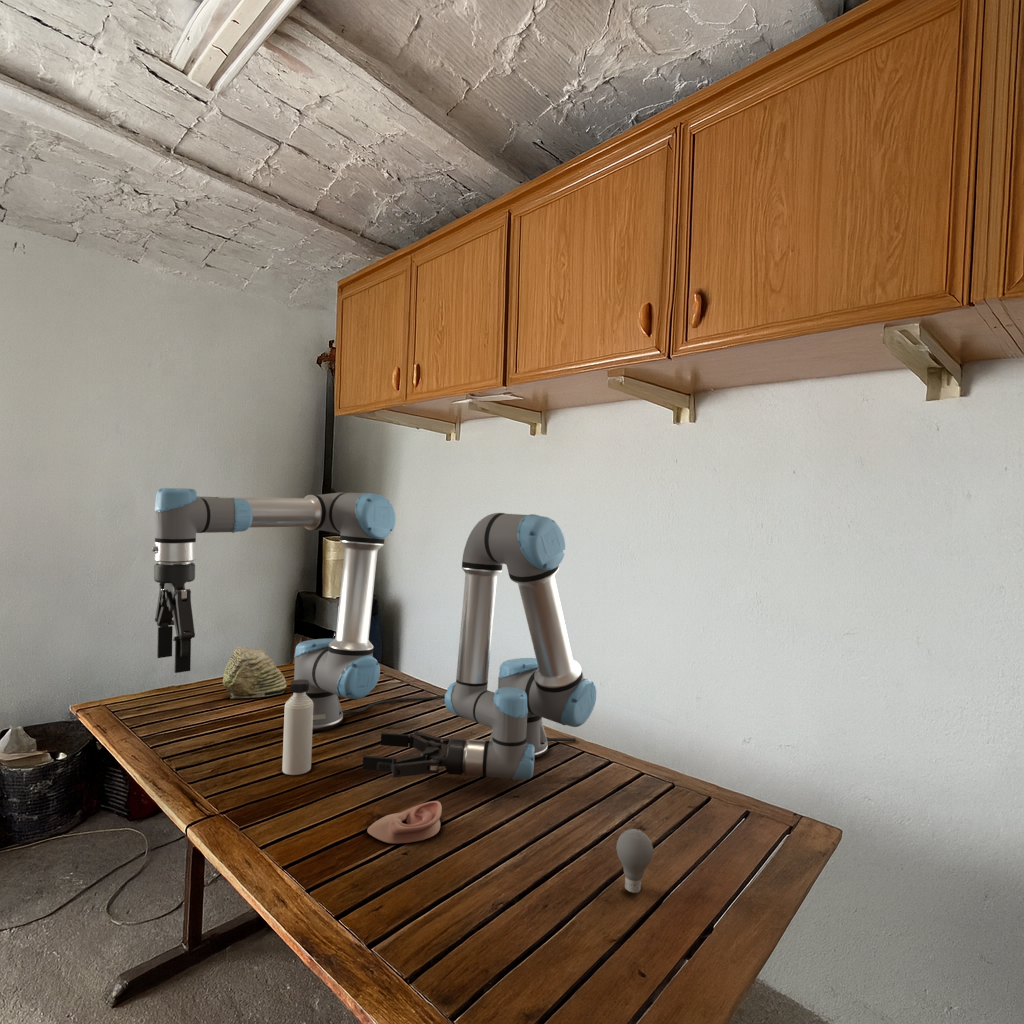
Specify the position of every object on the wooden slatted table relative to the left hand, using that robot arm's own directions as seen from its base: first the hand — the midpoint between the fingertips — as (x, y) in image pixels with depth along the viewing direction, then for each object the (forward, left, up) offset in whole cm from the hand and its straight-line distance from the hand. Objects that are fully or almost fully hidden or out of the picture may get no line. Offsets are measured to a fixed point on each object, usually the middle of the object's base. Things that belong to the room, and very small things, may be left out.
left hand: (173, 664), depth 132 cm
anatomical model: (-24, +46, -27) cm, 59 cm away
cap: (-25, +8, -7) cm, 27 cm away
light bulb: (-37, +89, -27) cm, 100 cm away
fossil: (-46, -48, -27) cm, 72 cm away
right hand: (-34, +24, -21) cm, 46 cm away
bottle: (-25, +8, -27) cm, 38 cm away
